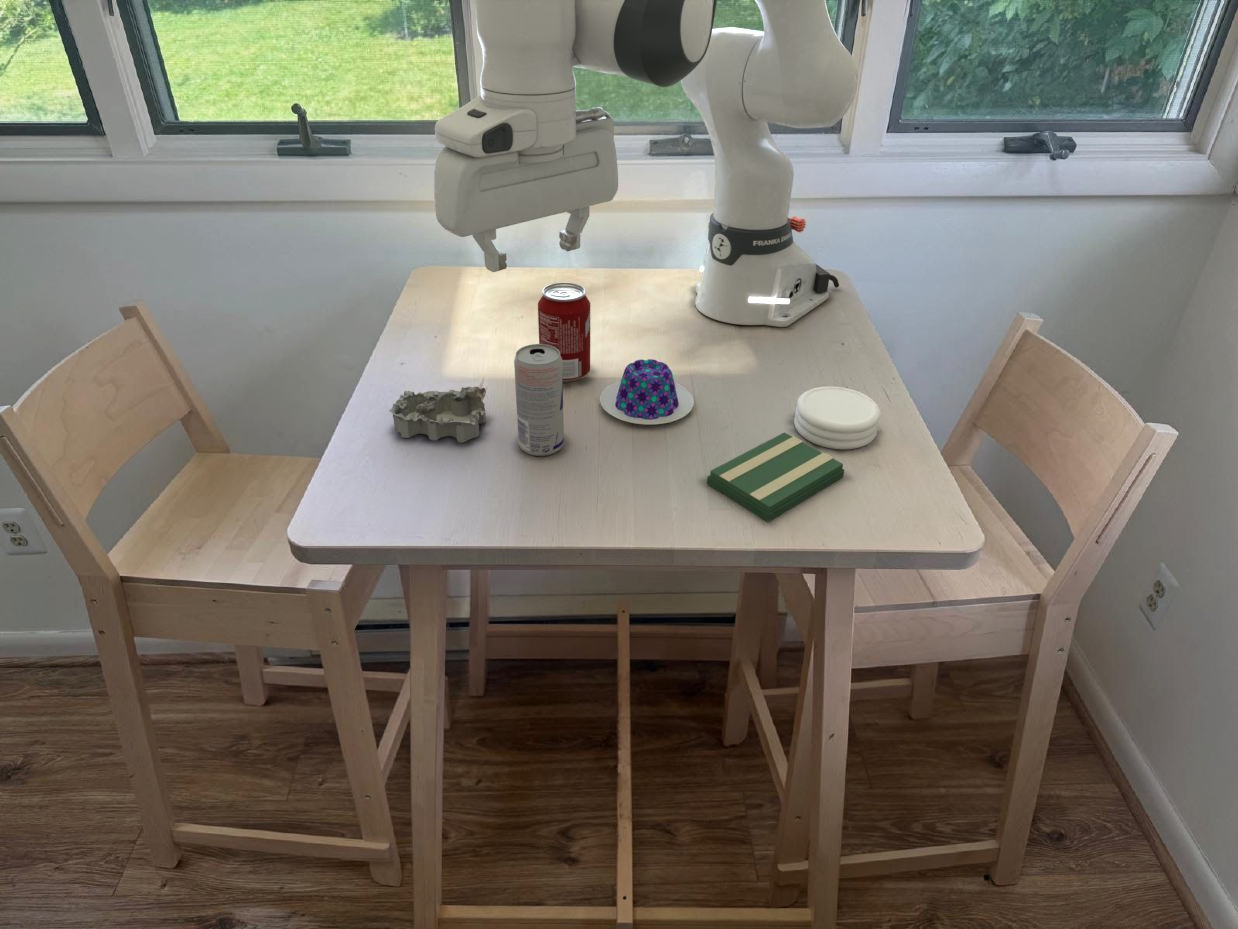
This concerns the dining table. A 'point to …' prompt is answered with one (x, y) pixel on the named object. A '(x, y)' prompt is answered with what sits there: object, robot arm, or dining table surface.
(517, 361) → the energy drink
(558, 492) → the dining table surface
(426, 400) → the egg carton
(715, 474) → the tea towel
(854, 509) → the dining table surface
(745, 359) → the dining table surface
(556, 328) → the soda can
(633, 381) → the pudding
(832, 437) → the coaster
